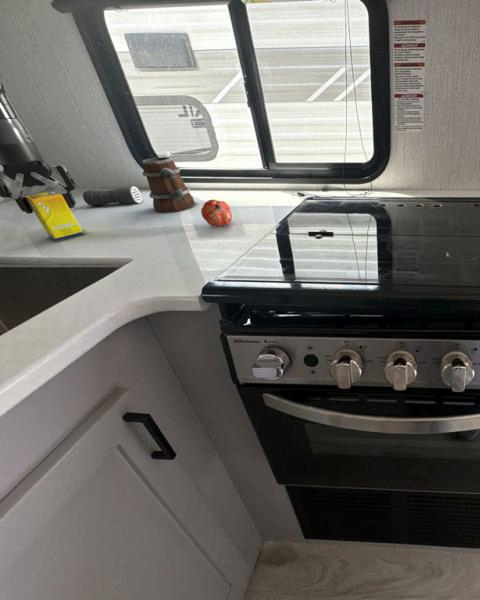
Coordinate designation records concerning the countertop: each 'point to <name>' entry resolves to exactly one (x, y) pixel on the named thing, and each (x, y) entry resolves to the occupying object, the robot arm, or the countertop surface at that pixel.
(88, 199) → the flashlight
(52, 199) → the supplement box
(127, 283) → the countertop surface
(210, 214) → the pomegranate
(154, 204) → the mug
